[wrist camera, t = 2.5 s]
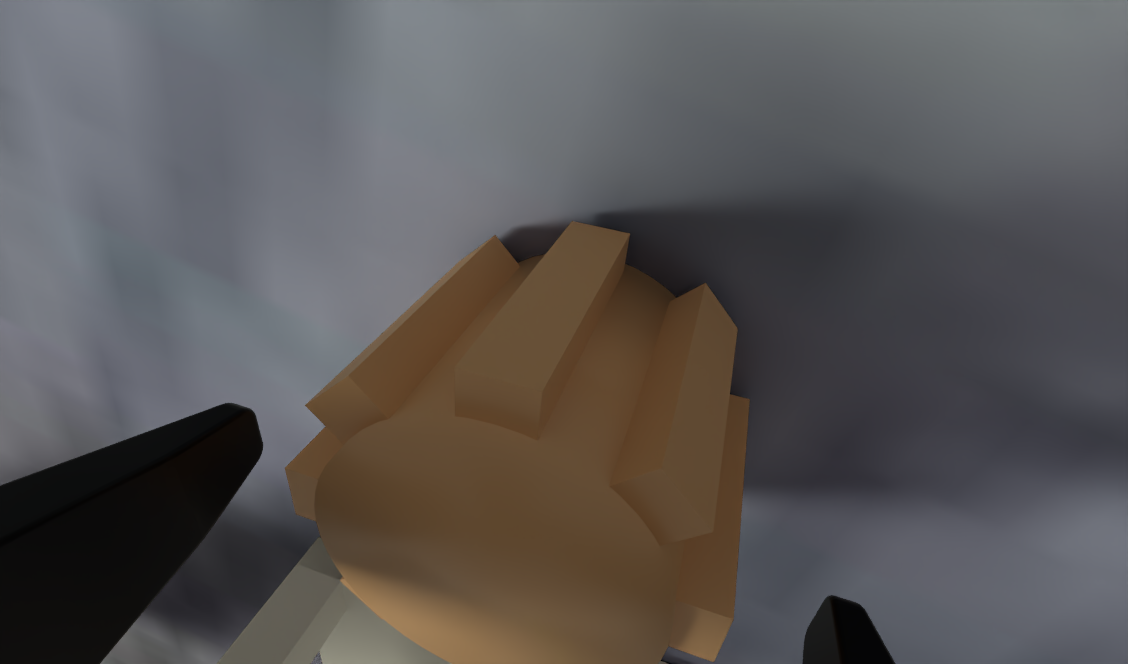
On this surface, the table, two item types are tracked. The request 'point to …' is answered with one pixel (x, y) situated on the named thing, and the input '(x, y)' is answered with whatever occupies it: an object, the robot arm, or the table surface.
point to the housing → (321, 624)
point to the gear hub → (538, 462)
